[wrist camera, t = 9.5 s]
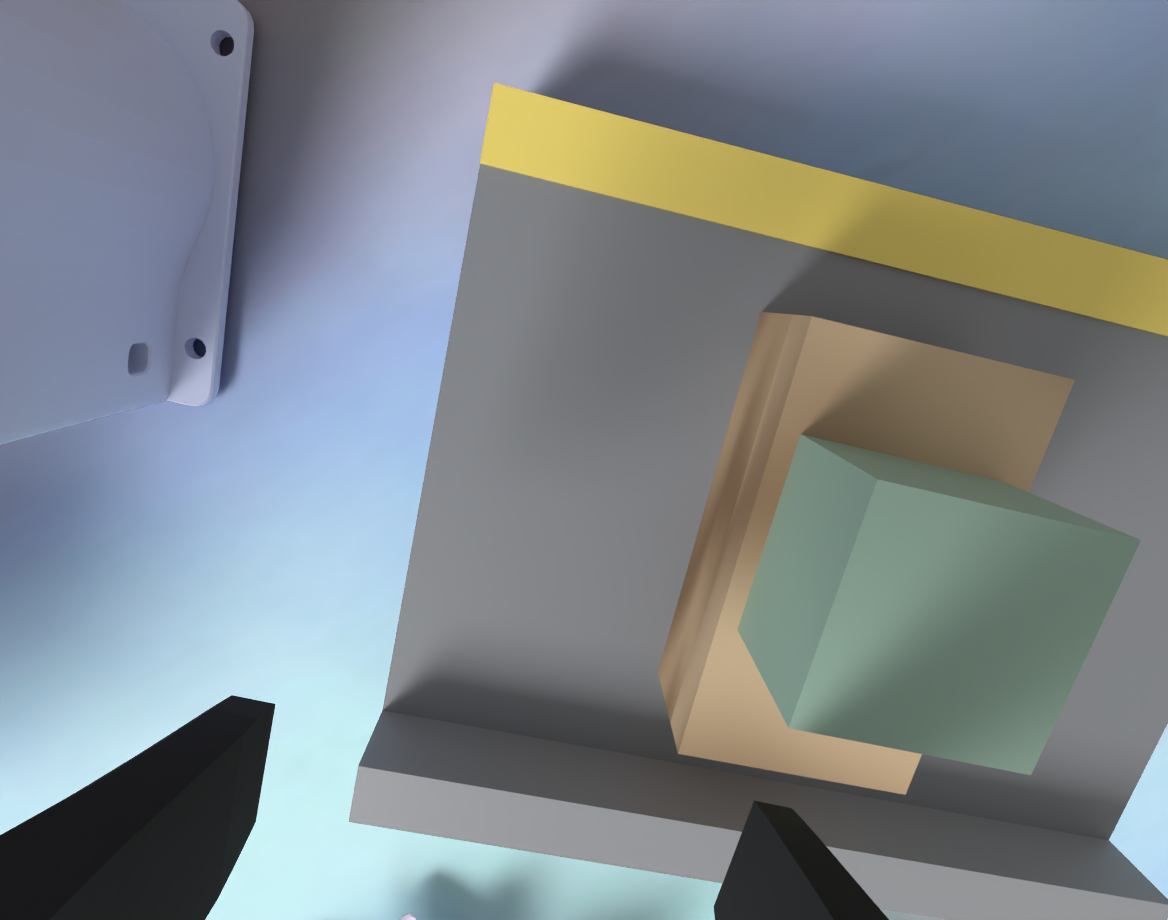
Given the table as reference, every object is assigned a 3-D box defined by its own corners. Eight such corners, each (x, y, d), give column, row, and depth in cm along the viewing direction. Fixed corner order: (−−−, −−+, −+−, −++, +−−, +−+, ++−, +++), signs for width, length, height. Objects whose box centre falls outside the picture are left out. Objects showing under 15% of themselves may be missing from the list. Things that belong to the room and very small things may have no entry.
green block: (927, 669, 13) (1031, 775, 10) (737, 629, 13) (788, 728, 10) (1003, 481, 12) (1140, 539, 9) (800, 434, 12) (877, 479, 9)
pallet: (846, 708, 17) (904, 794, 14) (657, 671, 16) (678, 754, 13) (973, 363, 15) (1075, 379, 12) (761, 311, 14) (812, 316, 11)
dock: (1015, 803, 21) (1148, 952, 16) (401, 691, 20) (348, 821, 15) (1239, 311, 18) (1497, 318, 13) (507, 122, 16) (482, 47, 11)
